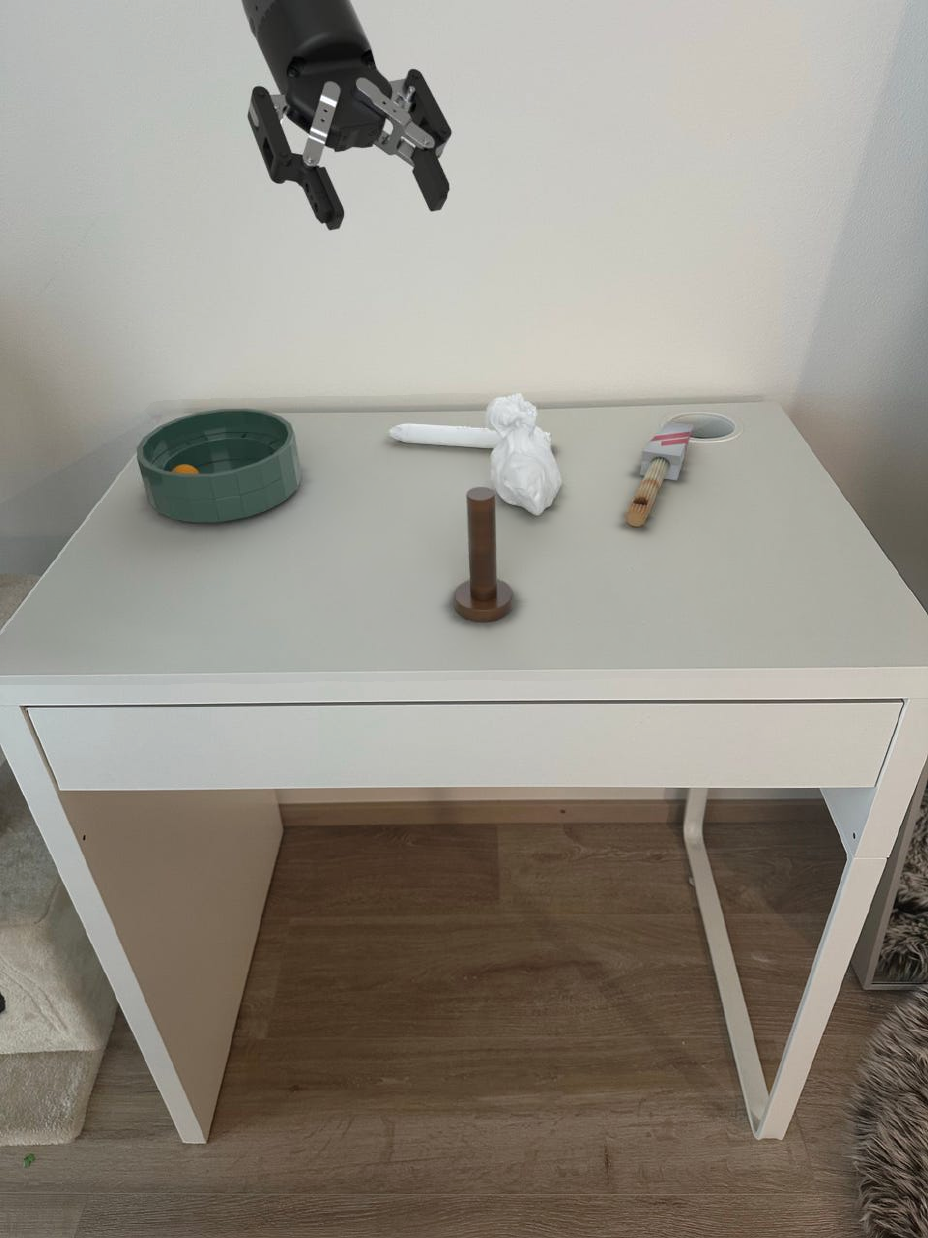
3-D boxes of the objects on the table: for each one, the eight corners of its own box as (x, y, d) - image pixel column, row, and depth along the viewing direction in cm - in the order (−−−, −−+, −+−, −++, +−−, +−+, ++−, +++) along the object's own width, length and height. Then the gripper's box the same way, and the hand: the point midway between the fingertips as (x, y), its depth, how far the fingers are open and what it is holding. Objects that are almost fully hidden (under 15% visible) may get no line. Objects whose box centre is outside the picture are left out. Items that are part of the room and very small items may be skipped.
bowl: (254, 537, 88) (244, 485, 84) (118, 515, 92) (104, 464, 89) (326, 465, 99) (319, 417, 96) (202, 448, 103) (192, 401, 100)
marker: (385, 444, 103) (383, 424, 101) (390, 436, 104) (389, 416, 103) (548, 455, 99) (548, 435, 98) (551, 447, 101) (551, 426, 99)
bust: (527, 486, 98) (459, 405, 94) (587, 447, 95) (518, 361, 90) (517, 546, 89) (440, 459, 84) (582, 506, 85) (506, 412, 81)
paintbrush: (700, 412, 99) (655, 509, 85) (697, 436, 101) (653, 535, 86) (664, 407, 100) (613, 502, 86) (662, 430, 102) (612, 527, 88)
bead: (200, 494, 92) (211, 480, 94) (182, 468, 91) (194, 455, 93) (176, 504, 93) (187, 490, 95) (158, 478, 92) (170, 465, 94)
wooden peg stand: (507, 625, 75) (505, 511, 69) (449, 619, 76) (442, 506, 70) (517, 591, 79) (517, 480, 73) (462, 586, 80) (457, 476, 74)
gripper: (217, -16, 63) (312, 196, 62) (401, -28, 69) (491, 165, 68) (206, 68, 70) (291, 261, 69) (374, 51, 76) (455, 228, 75)
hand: (390, 213), depth 68 cm, fingers open, 8 cm apart
